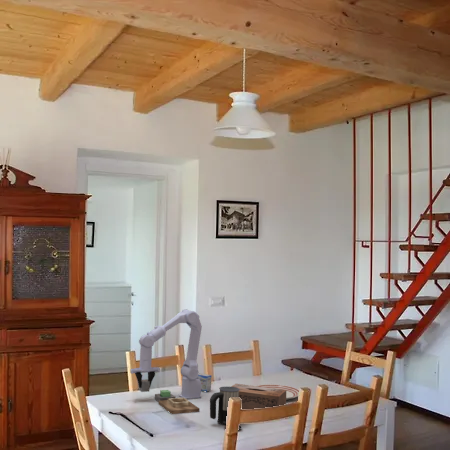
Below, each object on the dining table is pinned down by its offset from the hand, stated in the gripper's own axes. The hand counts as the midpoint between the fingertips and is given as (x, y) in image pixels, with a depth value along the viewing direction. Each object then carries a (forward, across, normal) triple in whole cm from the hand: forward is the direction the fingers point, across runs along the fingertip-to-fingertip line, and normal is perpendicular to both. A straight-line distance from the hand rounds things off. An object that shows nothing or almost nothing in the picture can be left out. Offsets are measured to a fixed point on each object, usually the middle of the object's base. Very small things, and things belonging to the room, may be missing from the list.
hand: (144, 387), depth 286 cm
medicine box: (+7, -36, -11) cm, 38 cm away
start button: (+4, -10, +3) cm, 11 cm away
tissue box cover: (+7, -46, +31) cm, 56 cm away
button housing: (+6, -10, +3) cm, 12 cm away
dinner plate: (+7, -69, +9) cm, 70 cm away
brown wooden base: (+6, -12, +17) cm, 22 cm away
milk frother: (+7, -24, +49) cm, 55 cm away
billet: (+2, 0, 0) cm, 2 cm away
